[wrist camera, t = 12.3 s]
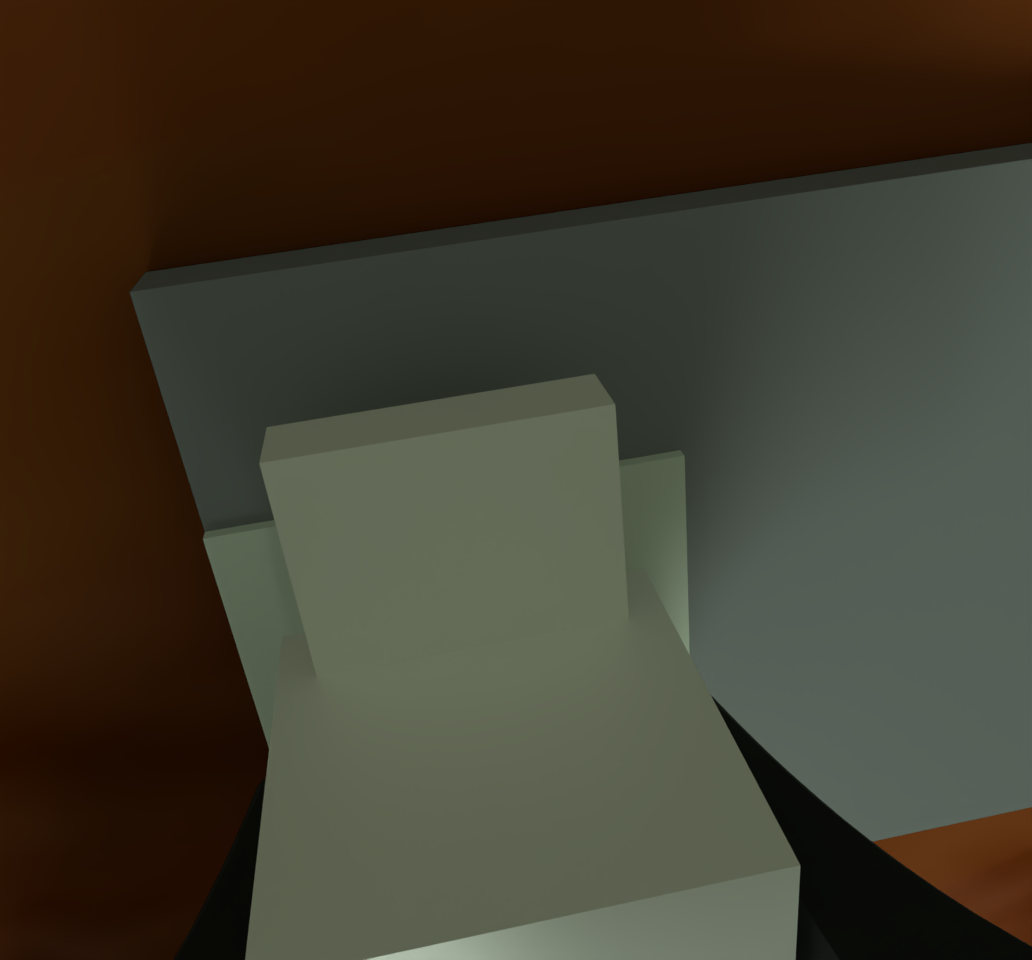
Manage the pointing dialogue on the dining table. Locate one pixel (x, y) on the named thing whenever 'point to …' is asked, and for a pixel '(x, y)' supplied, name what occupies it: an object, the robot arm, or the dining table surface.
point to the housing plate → (704, 440)
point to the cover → (494, 707)
